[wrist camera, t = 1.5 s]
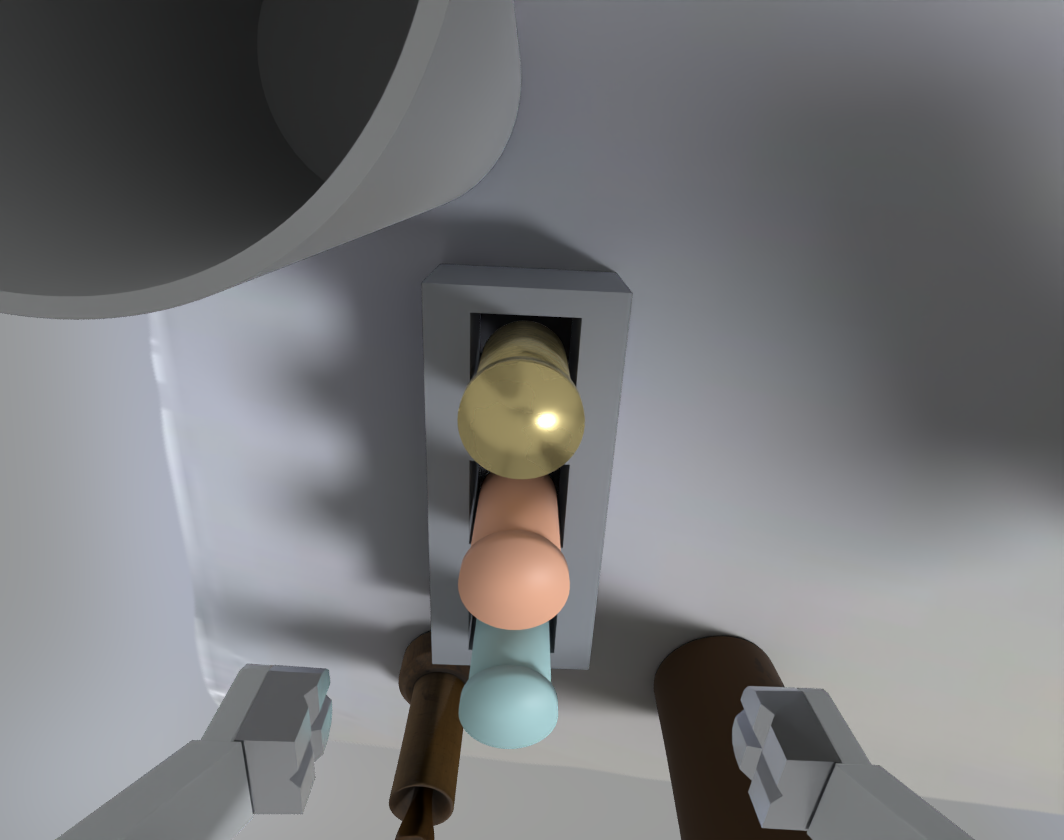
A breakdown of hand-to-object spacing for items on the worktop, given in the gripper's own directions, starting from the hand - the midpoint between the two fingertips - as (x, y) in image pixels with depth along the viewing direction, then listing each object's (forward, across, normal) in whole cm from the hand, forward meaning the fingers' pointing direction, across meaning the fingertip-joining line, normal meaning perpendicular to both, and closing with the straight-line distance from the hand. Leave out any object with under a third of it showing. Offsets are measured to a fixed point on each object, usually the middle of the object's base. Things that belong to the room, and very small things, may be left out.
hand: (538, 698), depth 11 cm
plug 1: (+20, 0, 0) cm, 20 cm away
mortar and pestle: (+26, +4, +26) cm, 37 cm away
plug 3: (+20, 0, +16) cm, 26 cm away
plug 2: (+20, 0, +8) cm, 22 cm away
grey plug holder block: (+25, 0, +8) cm, 26 cm away
